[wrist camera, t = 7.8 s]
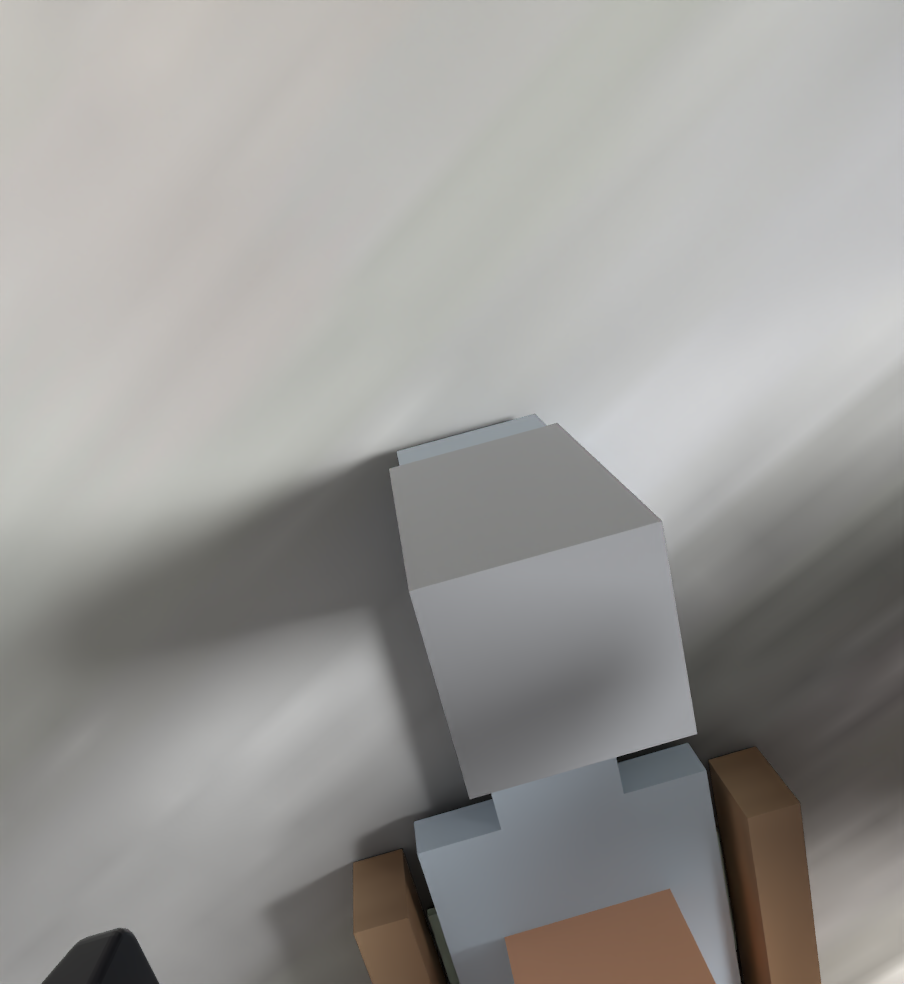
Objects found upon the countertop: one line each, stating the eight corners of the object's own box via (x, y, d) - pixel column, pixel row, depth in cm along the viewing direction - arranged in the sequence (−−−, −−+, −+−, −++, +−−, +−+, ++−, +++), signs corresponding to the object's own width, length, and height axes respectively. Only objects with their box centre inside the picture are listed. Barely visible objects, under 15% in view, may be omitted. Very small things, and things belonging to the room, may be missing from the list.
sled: (627, 388, 16) (793, 483, 10) (738, 1037, 22) (880, 1333, 16) (301, 476, 15) (271, 628, 10) (506, 1107, 22) (565, 1434, 16)
